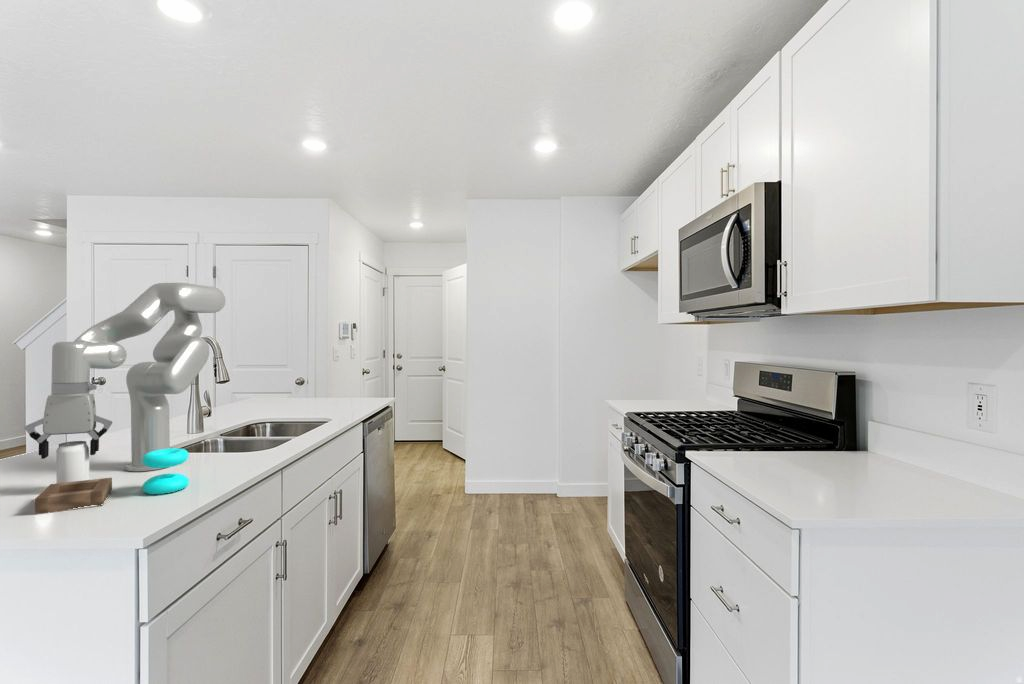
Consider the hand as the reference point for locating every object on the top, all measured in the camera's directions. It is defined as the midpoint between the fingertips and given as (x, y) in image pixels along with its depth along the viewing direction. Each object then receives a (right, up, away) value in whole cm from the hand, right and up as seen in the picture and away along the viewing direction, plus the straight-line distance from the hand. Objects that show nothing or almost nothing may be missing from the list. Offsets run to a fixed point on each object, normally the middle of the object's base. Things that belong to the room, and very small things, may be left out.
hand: (69, 456), depth 133 cm
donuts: (+24, -9, +1) cm, 26 cm away
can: (0, -9, +1) cm, 9 cm away
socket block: (+9, -9, -9) cm, 16 cm away
